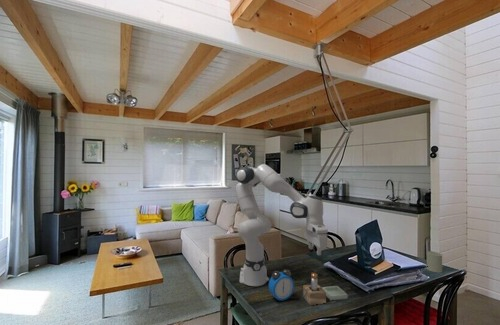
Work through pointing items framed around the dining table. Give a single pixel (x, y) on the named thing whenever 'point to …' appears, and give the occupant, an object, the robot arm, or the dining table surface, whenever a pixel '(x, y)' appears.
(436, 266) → the can
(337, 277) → the dining table surface
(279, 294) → the alarm clock
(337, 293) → the tray
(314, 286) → the pin
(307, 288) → the block
